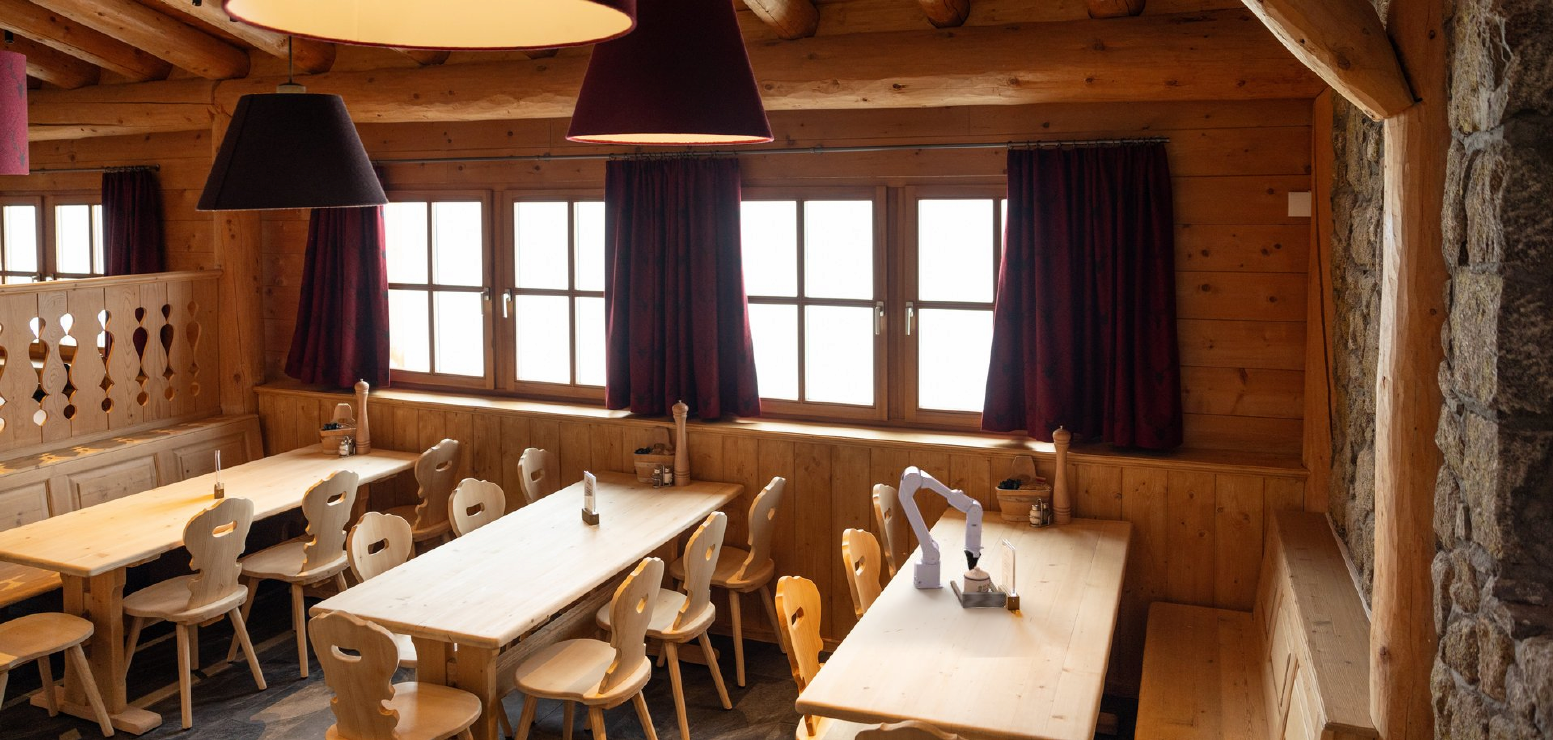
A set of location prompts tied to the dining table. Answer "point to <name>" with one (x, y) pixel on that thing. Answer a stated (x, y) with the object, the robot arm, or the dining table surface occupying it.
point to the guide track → (980, 597)
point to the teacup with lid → (976, 580)
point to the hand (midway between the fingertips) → (971, 570)
